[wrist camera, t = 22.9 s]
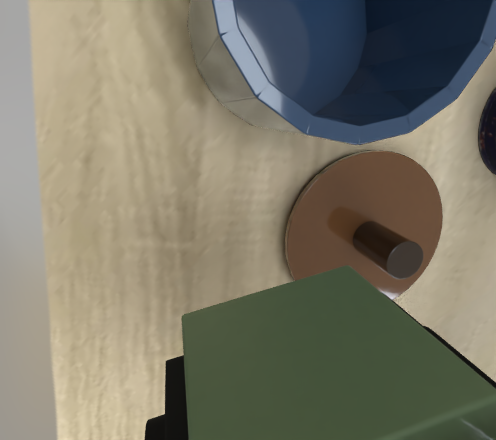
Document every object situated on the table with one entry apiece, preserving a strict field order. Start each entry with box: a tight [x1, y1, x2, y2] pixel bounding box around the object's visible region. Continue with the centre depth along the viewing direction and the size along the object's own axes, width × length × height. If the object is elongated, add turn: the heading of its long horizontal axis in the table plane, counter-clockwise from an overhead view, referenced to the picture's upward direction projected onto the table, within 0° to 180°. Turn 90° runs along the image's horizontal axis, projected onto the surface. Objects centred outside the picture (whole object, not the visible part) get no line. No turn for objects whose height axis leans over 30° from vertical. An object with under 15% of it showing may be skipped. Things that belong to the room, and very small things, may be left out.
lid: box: [285, 150, 443, 300], centre depth 26 cm, size 14×14×6 cm
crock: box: [187, 0, 496, 145], centre depth 18 cm, size 13×13×10 cm
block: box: [182, 265, 496, 440], centre depth 8 cm, size 5×5×5 cm
